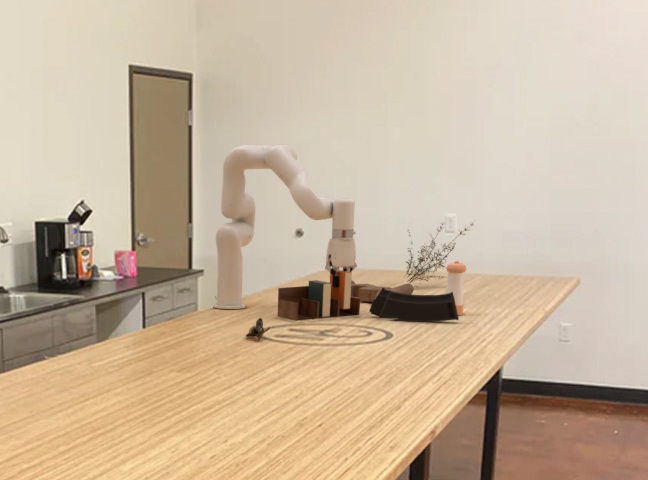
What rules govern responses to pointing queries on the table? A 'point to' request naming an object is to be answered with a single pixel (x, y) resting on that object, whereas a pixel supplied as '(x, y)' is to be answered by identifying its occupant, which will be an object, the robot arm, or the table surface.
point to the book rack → (309, 305)
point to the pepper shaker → (456, 283)
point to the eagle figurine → (257, 330)
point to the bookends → (375, 290)
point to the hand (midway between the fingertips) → (340, 286)
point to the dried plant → (430, 259)
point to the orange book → (342, 289)
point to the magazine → (414, 306)
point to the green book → (320, 296)
